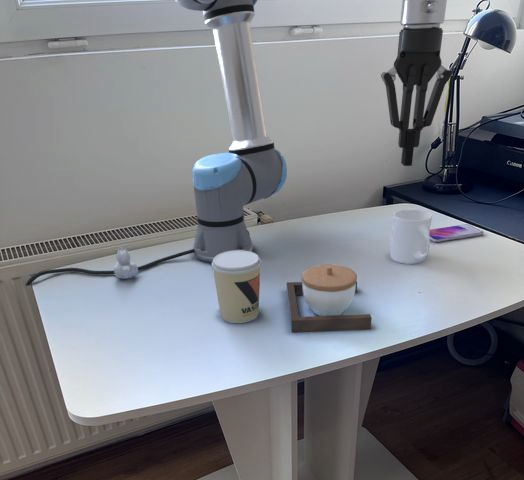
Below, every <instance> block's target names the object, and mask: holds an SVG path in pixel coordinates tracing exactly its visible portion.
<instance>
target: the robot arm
mask: <svg viewBox="0 0 524 480" xmlns="http://www.w3.org/2000/svg"><path fill="white" fill-rule="evenodd" d="M174 1H175V2H176V3H177V4H178V5H179V6H181V7H183V8H184V9H187V10H190V11H195V12H196V11H197V12H202V15H203V19H204V24H205V26H207V27H208V28H209V29H210V30H211V31H212V32H213V38H214V43H215V49H216V55H217V60H218V65H219V66H218V67H219V71H220V77H221V82H222V87H223V92H224V99H225V105H226V109H227V110H226V111H227V115H228V120H229V121H228V122H229V127H230V132H231V138H232V142H231V144H230V146H229V147H228V152H218V153H216V154H215V153H213V154H208V155H206V156H203V157H201V158H199V159H198V160H196V162H194V165H193V167H192V186H193V193H194V194H193V195H194V201H195V210H196V219H197V226H196V232H195V237H194V242H193V248H192V249H188V250H184V251H181V252H177V253H175V254H171V255H167V256H165V257H162V258H159V259H156V260H154V261H151V262H149V263H146V264H143V265H140V266H137V267H138V272H139V271H142V270H146V269H148V268H151V267H153V266H156V265H158V264H161V263H163V262H166V261H170V260H174V259H176V258H179V257H183V256H187V255H190V254H193V256H194V257H195V258H196V259H197V260H199V261H200V262H204V263H210V264H212V262H213V259H214V257H215V256H217V255H218V254H220V253H223V252H227V251H233V250H244V251H250V252H253V253H254V245H253V241H252V239H251V234H250V231H249V230H248V229H247V226H246V223H245V215H244V206H247V205H248V204H251V203H254V202H257V201H260V200H263V199H264V200H265V199H268V198H270V197H272V196H273V195H275V194H277V193H279V192H280V191H281V189H282V187H283V186H284V185H285V183H286V181H287V176H288V175H287V174H288V168H287V167H288V166H287V162H286V159H285V157H284V156H283V155H282V153H281V152H280V151H279V150H278V149H276V147H275V142H274V140H273V139H272V138H271V137H269V136H268V134H267V130H266V122H265V116H264V109H263V102H262V97H261V90H260V84H259V75H258V69H257V63H256V57H255V51H254V44H253V38H252V32H251V31H252V30H251V22H252V20H253V19H254V17H255V15H256V13H255V5H256V4H257V2H258V0H174ZM447 1H448V0H402V1H401V3H402V4H401V12H400V22H399V24H400V25H401V26H403V27H402V29H400V31H399V35H398V44H397V56H396V59H395V60H394V62H393V66H392V67H391V68H389V69H388V70H387V71H383V72H381V74H380V77H381V80H382V82H383V83H384V85H385V91H386V98H387V99H386V100H387V107H388V115H389V121H390V125H391V126H392V127H394V128H396V129H398V132H399V133H398V141H397V142H398V143H397V144H398V148H400V149H401V151H402V152H401V160H400V164H401V165H403V166H404V167H412V166H413V160H414V159H413V157H414V151H415V150H414V149H415V148H419V145H420V141H421V133H422V132H421V131H422V130H424V128H426V127H430V126H431V125H432V123H433V120H434V118H435V115H436V113H437V109H438V106H439V104H440V101H441V97H442V95H443V93H444V90H445V87H446V84H448V82H449V80H450V78H451V77H453V71H452V70H450V69H447V68H446V67H445V66H444V65H442V64H443V63H442V59H441V51H442V50H441V49H442V41H443V34H444V29H443V28H442V27H441V25H442V24H444V23H445V17H446V9H447V3H448V2H447ZM396 74H397V76H398V78H399V79H400V81H401V83H402V96H401V106H400V114H399V108H398V98H397V91H396V90H397V89H396V85H395V81H396V79H397V77H396ZM434 76H435V78H436V80H435V82H434V85H433V88H432V90H431V93H430V96H429V98H428V103H427V105H426V108H425V104H426V96H427V91H428V87H429V83H430V81H431V80H432V78H434ZM414 89H415V99H414V108H413V118H412V128H410V127H409V126H410V118H411V109H412V101H413V100H412V99H413V92H414ZM67 272H68V273H69V272H75V273H76V272H77V273H83V274H88V275H97V276H98V275H101V276H102V275H115V273H114V270H92V269H85V268H80V267H63V268H54V269H45V270H42V271H39V272H37V273H35V274H34V275H32V276H31V277H30V278H29V279H28V280H27V281H26V283H25V286H26V287H28V286H31V284H32V283H33V282H34V281H35V280H36V279H38V278H40V277H42V276H45V275H49V274H58V273H67Z"/></svg>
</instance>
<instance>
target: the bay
mask: <svg viewBox="0 0 524 480" xmlns="http://www.w3.org/2000/svg"><path fill="white" fill-rule="evenodd" d="M285 283H286V284H285V285H286V298H287V307H288V316H289V323H290V332H291V333H305V332H306V333H307V332H309V333H310V332H332V331H335V332H336V331H357V330H358V331H359V330H360V331H361V330H371V328H372V315H371V314H370V313H361V314H359V313H357V314H340V315H332V316H319V315H314V316H313V315H310V316H299V309H298V304H297V303H298V302H297V297H296V296H303V289H302V281H287V282H285ZM357 293H358V281H357V282H356V288H355V294H357Z"/></svg>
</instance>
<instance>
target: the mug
mask: <svg viewBox="0 0 524 480" xmlns="http://www.w3.org/2000/svg"><path fill="white" fill-rule="evenodd" d="M432 218H433V215H432V213H430V212H428V211H426V210H422V209H414V208H413V209H412V208H407V209H399V210H396V211H395V212H394V213H393V218H392V228H391V236H390V237H391V238H390V247H389V257H390V259H391V260H392V261H394V262H396V263H399V264H405V265H415V264H419V263H422V262H424V261H425V259H426V258H427V257H428V255H429V252H430V246H431V240H430V236H429V233H430V230H431V224H432Z"/></svg>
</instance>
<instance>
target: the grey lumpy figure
mask: <svg viewBox="0 0 524 480" xmlns="http://www.w3.org/2000/svg"><path fill="white" fill-rule="evenodd" d="M115 256H116V261H117V262H116V264H115V265H114V266H113V271H114V273H115V274H114V276H116V277H117V278H119V279H125V280H126V279H131V278H133V277H135V276H136V275H137V274H138V272H139V271H138V267H139V266H138V265H137V263H136V262H135V261H133V260H131V254H130V252H129V251H128V250H127V248H123V246H122V245H120V249H118V250H117V253H116V255H115Z"/></svg>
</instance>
